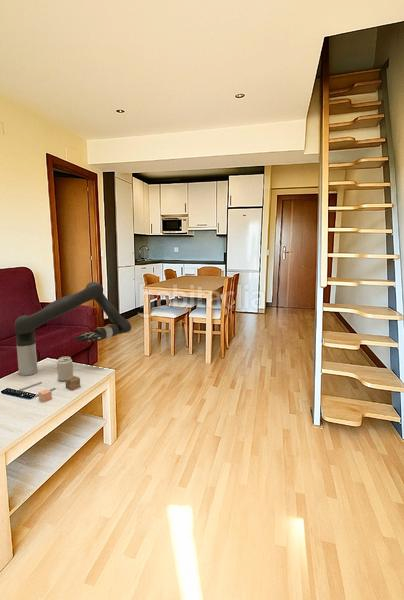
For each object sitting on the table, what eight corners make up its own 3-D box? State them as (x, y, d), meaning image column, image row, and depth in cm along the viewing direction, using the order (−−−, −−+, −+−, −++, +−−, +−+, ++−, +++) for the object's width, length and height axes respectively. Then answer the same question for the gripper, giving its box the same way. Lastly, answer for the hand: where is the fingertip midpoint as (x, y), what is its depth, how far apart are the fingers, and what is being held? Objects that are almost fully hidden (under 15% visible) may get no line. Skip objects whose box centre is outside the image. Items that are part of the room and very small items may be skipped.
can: (67, 382, 161) (66, 361, 159) (55, 381, 162) (53, 360, 160) (75, 376, 168) (74, 356, 166) (64, 375, 169) (62, 355, 167)
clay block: (39, 400, 142) (38, 392, 141) (47, 396, 145) (46, 389, 144) (43, 402, 140) (43, 394, 139) (51, 399, 143) (51, 391, 142)
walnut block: (65, 388, 154) (65, 379, 153) (74, 384, 158) (73, 375, 158) (71, 390, 152) (71, 381, 151) (80, 387, 156) (79, 377, 155)
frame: (17, 390, 150) (17, 390, 150) (40, 382, 160) (40, 381, 160) (32, 398, 143) (32, 397, 143) (56, 389, 153) (55, 388, 153)
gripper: (95, 325, 187) (70, 331, 173) (110, 329, 179) (86, 335, 165) (95, 337, 188) (71, 344, 174) (111, 341, 180) (86, 348, 166)
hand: (78, 339), depth 170 cm, fingers open, 4 cm apart
